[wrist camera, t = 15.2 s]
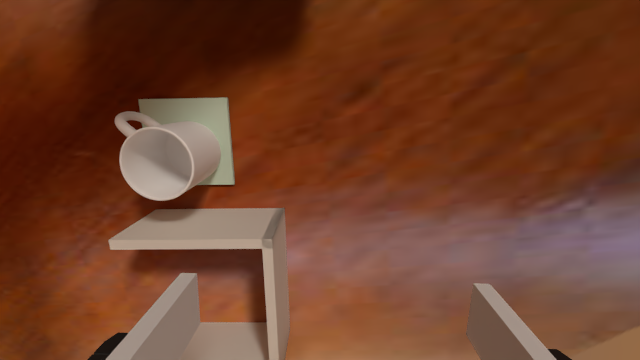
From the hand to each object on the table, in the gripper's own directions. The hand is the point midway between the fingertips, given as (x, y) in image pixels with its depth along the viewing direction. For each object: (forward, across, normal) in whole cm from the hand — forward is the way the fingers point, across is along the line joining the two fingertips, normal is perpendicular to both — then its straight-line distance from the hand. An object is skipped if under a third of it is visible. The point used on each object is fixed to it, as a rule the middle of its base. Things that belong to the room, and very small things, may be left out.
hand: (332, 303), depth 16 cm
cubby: (+32, -16, -16) cm, 39 cm away
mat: (+32, -20, +3) cm, 38 cm away
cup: (+32, -21, +4) cm, 38 cm away
